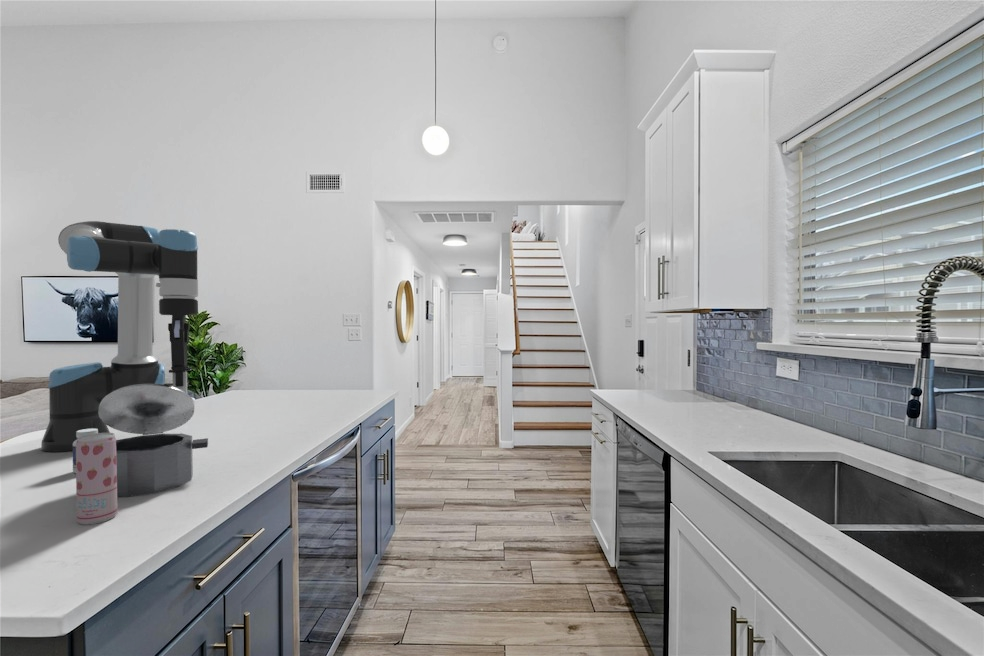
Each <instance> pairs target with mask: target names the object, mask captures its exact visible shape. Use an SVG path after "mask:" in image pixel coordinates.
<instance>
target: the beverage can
mask: <svg viewBox="0 0 984 656" xmlns="http://www.w3.org/2000/svg"><path fill="white" fill-rule="evenodd" d="M116 440H117V438H116V434H115V433H113V432H110V433H95V434H89V435H84V436H80V437H78V439H77V443H76V473H75V481H76V482H75V484H76V485H75V487H76V488H75V489H76V490H75V492H76V495H75V496H76V497H75V499H76V522H77V523H78V524H80V525H84V526H85V525H95V524H99V523H104V522H106V521H109V520H111V519H113V518H115V516H116V515H118V512H119V511H118V497H117V460H116Z"/></svg>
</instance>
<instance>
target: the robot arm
mask: <svg viewBox="0 0 984 656" xmlns="http://www.w3.org/2000/svg"><path fill="white" fill-rule="evenodd" d="M57 240H58V245H59V247H60V250H62V251H63V252H64V254H65V255H66V262H67V266H68V268H69V269H71V270H75V271H84V272H87V273H88V272H89V273H90V272H101V273H106V272H107V273H115V274H117V277H118V281H117V284H118V286H117V288H118V289H117V292H118V293H117V295H118V296H117V297H118V298H117V301H118V302H117V354H116V355H115V356H114V357H113V358H112V359H111V361H110V363H111V365H110V366H104V365H103V364H102V362H97V361H96V362H88V363H79V364H73V365H68V366H63V367H59V368H55V369H53V370H52V371H51V372H50V373H49V377H48V380H49V381H48V385H47V388H48V391H49V399H48V400H49V404H48V405H49V422H48V424H47V428H46V429H45V431H44V432H45V433H44V435H43V437H42V440H41V451H42V452H49V453H51V452H52V453H54V452H55V453H56V452H58V453H59V452H73V442H74V441H75V440H77V439H78V438H77V437H76V431H79V430H83V429H98V433H111V432H110V429H109V426H108V425H106V424H105V423H104V422H103V421H102V420H101V419H100V417H99V414H98V410H99V405H100V403H101V401H102V399H103V398H104V397H105V396H107V395H108V394H109V393H111V392H113V391H115V390H117V389H120V388H123V387H126V386H130V385H136V384H162V385H165V379H166V378H165V377H166V375H165V373H166V372H165V367H164V365H163V363H160V362H159V358H157V356H155V355H154V354H153V340H154V339H153V334H154V333H153V332H154V331H153V329H154V327H153V326H154V278H155V276H158V282H156V284H155V287H157V288H159V289H158V291H159V292H158V293H159V294H158V295H159V296H160V297H162V298H160V299H159V301H158V307H159V308H158V312H159V314H160V315H161V316H171V322H170V323H167V324H168V325H167V330H168V331H169V342H170V356H171V357H170V358H171V367H170V368H171V369H168V373H170V374H171V373H172V387H175V388H178V389H180V390H182V391H184V392H186V393H187V394H188V372H190V371H191V367H188V342H189V340H190V335H189V333H190V330H191V325H190V322H188V323H187V319H186V318H187V316H197V315H198V314H199V300H198V299H196V298H197V297H199V280H198V250H199V246H198V239H197V235H196V234H195V233H194V232H192V231H189V230H184V229H174V228H169V229H168V228H167V229H162V230H159V229H158V228H155V227H148V226H145V225H134V224H133V225H132V224H127V223H116V222H107V221H106V222H105V221H100V220H98V221H97V220H92V221H91V220H89V221H79V222H75V223H72V224H69V225H66V227H64V228H63V229H62V230H61V231H60V233H59V235H58V239H57Z"/></svg>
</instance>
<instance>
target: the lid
mask: <svg viewBox="0 0 984 656" xmlns="http://www.w3.org/2000/svg"><path fill="white" fill-rule="evenodd" d="M195 405H196V404H195V401H194V399H193V397H191V395H189V393H188V392H187V393H186V392H184V391H182V390H180V389H178V388H175V387H173V385H172V386H171V385H167V384H164V385H162V384H136V385H130V386H126V387H123V388H120V389H117V390H115V391H113V392H111V393H109V394H108V395H107V396H105V397H104V398H103V399H102V401H101V403H100V405H99V410H98V414H99V417H100V419H101V420H102V421H103V422H104V423H105V424H106V425H107V427H108V428H112V429H114V430H116V431H119V432H122V433H129V434H135V435H136V434H137V435H142V436H144V435H155V434H164V433H166V432H168V431H172V430H175V429H177V428H179V427H181V426H184V425H185V424H186V423H188V422H189V421H190V420H191V419H192V417H193V416H194V414H195Z"/></svg>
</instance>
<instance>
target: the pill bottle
mask: <svg viewBox="0 0 984 656" xmlns="http://www.w3.org/2000/svg"><path fill="white" fill-rule="evenodd" d="M95 433H98V429H83V430H79V431H76V437H77V438H78V437H80V436H84V435H89V434H95ZM76 443H77V440H75V441H74V442H73V450H72V473H74V474H76Z"/></svg>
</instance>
